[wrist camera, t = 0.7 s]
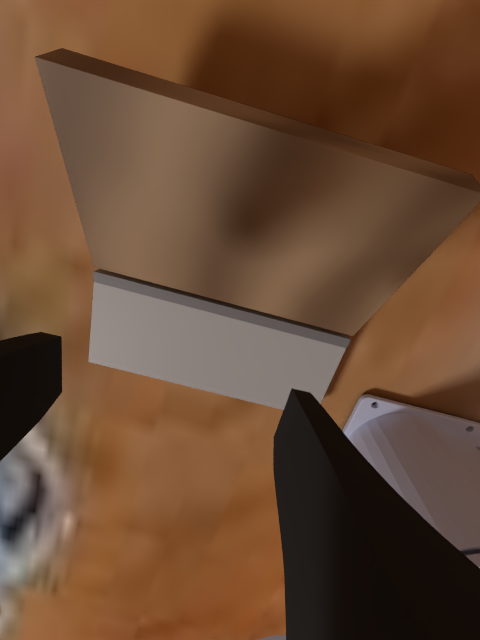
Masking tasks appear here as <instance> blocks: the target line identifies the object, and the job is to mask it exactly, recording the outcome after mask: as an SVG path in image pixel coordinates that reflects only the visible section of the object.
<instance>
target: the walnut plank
mask: <svg viewBox="0 0 480 640" xmlns="http://www.w3.org/2000/svg"><path fill="white" fill-rule="evenodd" d="M35 59H36V63H37V66H38V70H39V74H40V77H41V81H42V84H43V88H44V91H45V95H46V99H47V102H48V106H49V109H50V113H51V116H52V120H53V124H54V127H55V131H56V134H57V138H58V141H59V145H60V149H61V152H62V156H63V159H64V163H65V166H66V170H67V174H68V177H69V181H70V184H71V188H72V191H73V195H74V198H75V202H76V206H77V209H78V213H79V216H80V220H81V223H82V227H83V231H84V234H85V238H86V241H87V245H88V248H89V252H90V256H91V259H92V263H93V266H94V267H95V268H99V269H103V270H107V271H110V272H114V273H118V274H122V275H125V276H129V277H133V278H137V279H140V280H144V281H148V282H152V283H155V284H159V285H163V286H167V287H170V288H174V289H178V290H182V291H185V292H189V293H193V294H197V295H201V296H204V297H208V298H212V299H216V300H219V301H223V302H227V303H231V304H234V305H238V306H242V307H246V308H249V309H253V310H257V311H261V312H264V313H268V314H272V315H276V316H279V317H283V318H287V319H291V320H294V321H298V322H302V323H306V324H309V325H313V326H317V327H321V328H324V329H328V330H332V331H336V332H339V333H343V334H347V335H351V336H354V335H355V334H356V333H357V331H358V330H359V329H360V328H361V327H362V326H363V325H364V324H365V323H366V322H367V321H368V320H369V319H370V318H371V317H372V316H373V315H374V314H375V312H376V311H377V310H378V309H379V308H380V307H381V306H382V305H383V304H384V303H385V302H386V301H387V300H388V299H389V298H390V297H391V296H392V295H393V294H394V292H395V291H396V290H397V289H398V288H399V287H400V286H401V285H402V284H403V283H404V282H405V281H406V280H407V279H408V278H409V277H410V276H411V275H412V274H413V272H414V271H415V270H416V269H417V268H418V267H419V266H420V265H421V264H422V263H423V262H424V261H425V260H426V259H427V258H428V257H429V256H430V255H431V253H432V252H433V251H434V250H435V249H436V248H437V247H438V246H439V245H440V244H441V243H442V242H443V241H444V240H445V239H446V238H447V237H448V236H449V235H450V233H451V232H452V231H453V230H454V229H455V228H456V227H457V226H458V225H459V224H460V223H461V222H462V221H463V220H464V219H465V218H466V217H467V216H468V215H469V213H470V212H471V211H472V210H473V209H474V208H475V207H476V206H477V205H478V204H479V203H480V185H479V183H478V182H477V181H476V179H475V178H474V177H473V175H472V174H469V173H465V172H462V171H459V170H456V169H452V168H449V167H446V166H443V165H439V164H436V163H433V162H430V161H426V160H423V159H420V158H417V157H413V156H410V155H407V154H404V153H400V152H397V151H394V150H391V149H387V148H384V147H381V146H378V145H374V144H371V143H368V142H365V141H361V140H358V139H355V138H352V137H349V136H345V135H342V134H339V133H336V132H332V131H329V130H326V129H323V128H319V127H316V126H313V125H310V124H306V123H303V122H300V121H297V120H293V119H290V118H287V117H284V116H280V115H277V114H274V113H271V112H267V111H264V110H261V109H258V108H254V107H251V106H248V105H245V104H242V103H238V102H235V101H232V100H229V99H225V98H222V97H219V96H216V95H212V94H209V93H206V92H203V91H199V90H196V89H193V88H190V87H186V86H183V85H180V84H177V83H173V82H170V81H167V80H164V79H160V78H157V77H154V76H151V75H147V74H144V73H141V72H138V71H134V70H131V69H128V68H125V67H122V66H118V65H115V64H112V63H109V62H105V61H102V60H99V59H96V58H92V57H89V56H86V55H83V54H79V53H76V52H73V51H70V50H66V49H63V48H61V49H58V50H55V51H52V52H49V53H45V54H42V55H39V56H36V57H35Z"/></svg>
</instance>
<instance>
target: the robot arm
mask: <svg viewBox="0 0 480 640" xmlns="http://www.w3.org/2000/svg"><path fill="white" fill-rule="evenodd" d="M61 392H62V344H61V336H56V335H52V334H47V333H43V332H39V333H33V334H27V335H23V336H18V337H14V338H9V339H5V340H1V341H0V461H1V460H2V459H3V458H4V457H5V456H6V455H7V454H8V453H9V452H10V451H11V450H12V449H13V448H14V447H15V446H16V445H17V444H18V443H19V442H20V441H21V440H22V438H23V437H24V436H25V435H26V434H27V433H28V432H29V431H30V430H31V429H32V428H33V427H34V426H35V425H36V424H37V423H38V422H39V421H40V420H41V419H42V417H43V416H44V415H45V413H46V412H47V411H48V410H49V408H50V407H51V406H52V404H53V403H54V402H55V400H56V399H57V398H58V396H59V395H60V394H61ZM374 402H376V403H375V404H374V405H371V404H372V403H374ZM274 479H275V488H276V498H277V506H278V515H279V524H280V533H281V542H282V551H283V562H284V576H285V608H286V640H480V423H479V422H475V421H471V420H467V419H464V418H460V417H456V416H452V415H448V414H444V413H440V412H436V411H432V410H428V409H424V408H420V407H416V406H412V405H409V404H405V403H401V402H397V401H393V400H389V399H385V398H381V397H377V396H373V395H369V394H366V395H363V396H361V397H360V399H359V400H358V402H357V404H356V406H355V408H354V410H353V412H352V414H351V416H350V418H349V420H348V421H347V423H346V425H345V427H344V429H343V431H342V430H341V429H340V428H339V427H338V425H337V424H336V423H335V422H334V420H333V419H332V418H331V417H330V415H329V414H328V413H327V412H326V410H325V409H324V408H323V407H322V406H321V404H320V403H319V402H318V401H317V399H316V398H315V397H314V396H313V395H312V394H311V393H310V392H306V391H302V390H297V389H293V388H292V389H291V391H290V394H289V397H288V400H287V402H286V405H285V408H284V411H283V413H282V416H281V419H280V422H279V424H278V427H277V430H276V433H275V436H274Z"/></svg>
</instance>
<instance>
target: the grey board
mask: <svg viewBox="0 0 480 640" xmlns="http://www.w3.org/2000/svg"><path fill="white" fill-rule="evenodd" d="M93 282H94V290H93V305H92V319H91V334H90V348H89V362H91V363H95V364H99V365H103V366H107V367H111V368H116V369H120V370H124V371H128V372H132V373H136V374H140V375H144V376H148V377H152V378H156V379H160V380H164V381H168V382H172V383H176V384H180V385H184V386H188V387H192V388H197V389H201V390H205V391H209V392H213V393H217V394H221V395H225V396H229V397H233V398H237V399H241V400H245V401H249V402H253V403H257V404H261V405H265V406H269V407H273V408H278V409H282V410H284V408H285V405H286V402H287V400H288V397H289V394H290V391H291V389H292V388H293V389H297V390H302V391H306V392H310V393H311V394H312V395H313V396H314V397H315V398H316V399H317V401H318V402H319V403H320V404H321V401H322V399H323V397H324V395H325V393H326V391H327V388H328V386H329V384H330V382H331V380H332V378H333V375H334V373H335V371H336V369H337V367H338V365H339V363H340V360H341V358H342V356H343V354H344V352H345V350H346V348H347V347H348V345H349V343H350V341H351V339H350V338H349V336H348V335H347V334H343V333H339V332H336V331H332V330H328V329H324V328H321V327H317V326H313V325H309V324H306V323H302V322H298V321H294V320H291V319H287V318H283V317H279V316H276V315H272V314H268V313H264V312H261V311H257V310H253V309H249V308H246V307H242V306H238V305H234V304H231V303H227V302H223V301H219V300H216V299H212V298H208V297H204V296H201V295H197V294H193V293H189V292H185V291H182V290H178V289H174V288H170V287H167V286H163V285H159V284H155V283H152V282H148V281H144V280H140V279H137V278H133V277H129V276H125V275H122V274H118V273H114V272H110V271H107V270H103V269H99V270H96V271H94V277H93Z"/></svg>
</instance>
